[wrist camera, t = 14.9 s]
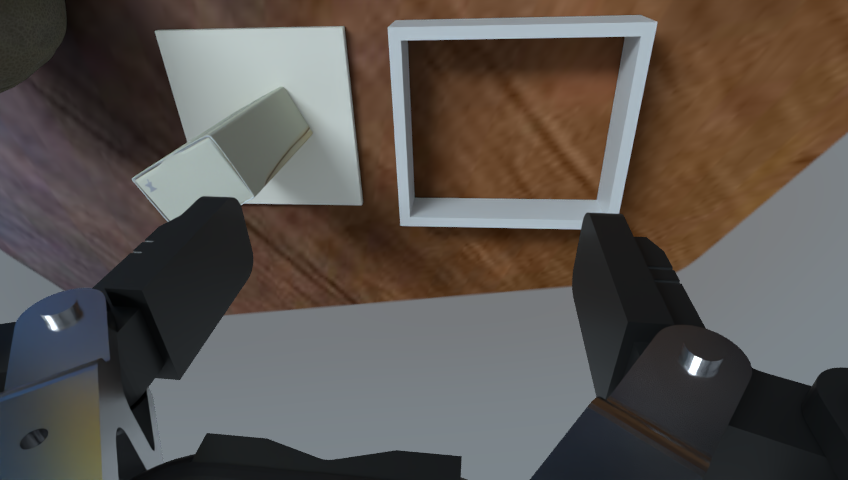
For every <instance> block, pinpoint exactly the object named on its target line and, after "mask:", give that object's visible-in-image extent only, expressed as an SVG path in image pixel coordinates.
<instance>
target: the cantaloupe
mask: <svg viewBox="0 0 848 480" xmlns="http://www.w3.org/2000/svg"><path fill="white" fill-rule="evenodd" d="M66 27H67V16H66V8H65V0H0V93H1V92H3V91H6V90H8V89H10V88H13V87H15V86H16V85H18V84H19V83H21V82H22V81H24V80H25V79H27V78H28V77H29V76H30V75H32V74H33V73H34V72H35V71H36V70H37V69H39V68H40V67H41V66H43V65H44V64H45V63H46V62H48V61H49V60H50V59H51V58H52V56H53V55H54V53H55V51H56V49H57V48H58V47H59V46H60V44H61V43H62V41H63V38H64V36H65V33H66Z"/></svg>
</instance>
